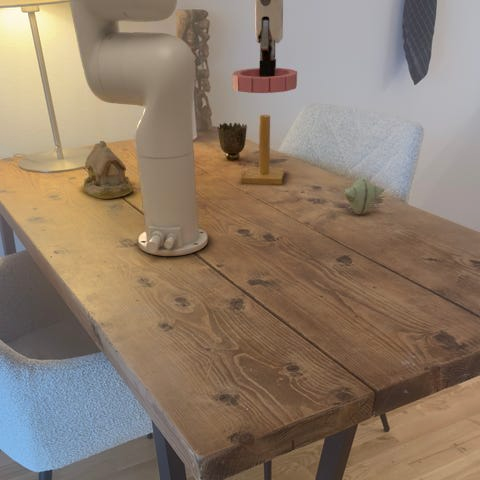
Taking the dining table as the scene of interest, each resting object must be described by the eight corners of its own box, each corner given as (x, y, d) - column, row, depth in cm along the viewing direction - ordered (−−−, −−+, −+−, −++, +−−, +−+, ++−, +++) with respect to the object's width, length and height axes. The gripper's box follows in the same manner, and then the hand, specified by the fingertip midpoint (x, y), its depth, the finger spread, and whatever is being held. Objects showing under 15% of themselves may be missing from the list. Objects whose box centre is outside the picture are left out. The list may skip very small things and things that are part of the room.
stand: (281, 184, 130) (283, 120, 121) (242, 183, 131) (242, 119, 122) (284, 173, 137) (286, 112, 128) (247, 172, 138) (247, 111, 129)
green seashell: (344, 219, 111) (348, 183, 107) (337, 212, 114) (340, 177, 110) (382, 215, 113) (387, 180, 108) (374, 209, 116) (378, 174, 111)
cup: (241, 164, 143) (241, 129, 138) (214, 162, 145) (213, 127, 140) (250, 156, 149) (250, 122, 144) (224, 154, 151) (223, 121, 146)
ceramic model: (77, 185, 131) (68, 138, 125) (122, 178, 135) (116, 132, 129) (96, 202, 122) (87, 152, 115) (144, 193, 126) (139, 144, 120)
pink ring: (293, 93, 112) (294, 78, 111) (228, 92, 114) (228, 78, 112) (298, 81, 122) (299, 67, 121) (238, 81, 124) (238, 67, 122)
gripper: (284, -27, 104) (281, 88, 116) (291, -29, 116) (287, 75, 128) (244, -26, 105) (245, 88, 117) (255, -28, 117) (255, 75, 129)
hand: (267, 80), depth 122 cm, fingers closed on pink ring
